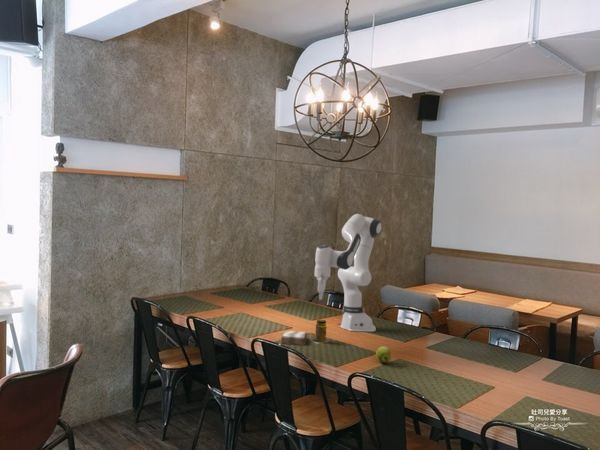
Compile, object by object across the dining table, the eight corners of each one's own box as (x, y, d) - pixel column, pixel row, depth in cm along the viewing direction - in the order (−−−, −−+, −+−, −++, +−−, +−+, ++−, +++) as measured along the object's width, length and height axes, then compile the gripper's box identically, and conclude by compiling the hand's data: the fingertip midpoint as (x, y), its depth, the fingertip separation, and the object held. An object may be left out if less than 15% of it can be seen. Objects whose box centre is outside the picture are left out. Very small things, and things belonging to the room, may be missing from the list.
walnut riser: (306, 338, 290) (306, 331, 290) (304, 344, 277) (304, 337, 277) (284, 337, 291) (284, 330, 291) (281, 343, 278) (281, 336, 278)
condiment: (328, 342, 285) (329, 321, 284) (316, 343, 280) (317, 322, 280) (321, 338, 291) (322, 318, 290) (309, 340, 286) (310, 319, 286)
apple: (388, 359, 258) (389, 344, 257) (392, 365, 249) (393, 349, 248) (373, 359, 257) (374, 343, 257) (377, 365, 248) (378, 349, 248)
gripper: (327, 276, 273) (326, 301, 274) (328, 271, 294) (327, 294, 294) (315, 275, 274) (314, 300, 274) (317, 270, 294) (316, 294, 295)
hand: (321, 297), depth 284 cm, fingers open, 8 cm apart
